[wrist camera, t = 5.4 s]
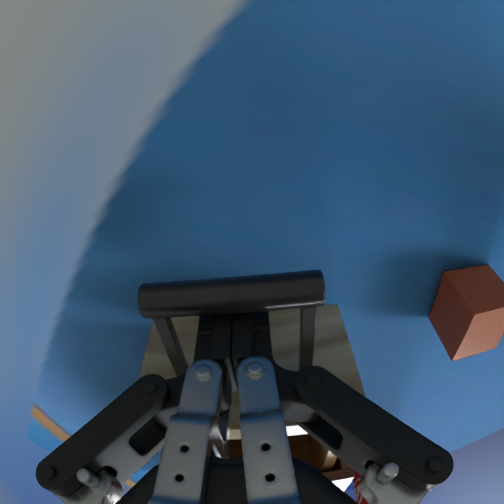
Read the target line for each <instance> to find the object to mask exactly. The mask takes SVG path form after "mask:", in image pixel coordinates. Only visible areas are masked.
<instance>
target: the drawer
mask: <svg viewBox="0 0 504 504" xmlns="http://www.w3.org/2000/svg"><path fill="white" fill-rule="evenodd" d="M324 302H325V284H324V278H323V274H322V272H321V270H309V271H298V272H287V273H275V274H263V275H252V276H239V277H227V278H214V279H201V280H187V281H173V282H158V283H143V284H141V286H140V288H139V292H138V305H139V310H140V313H141V315H142V316H143V317H144V318H153V325H152V328H151V332H150V336H149V339H148V343H147V347H146V351H145V355H144V359H143V363H142V367H141V371H140V375H139V379H140V378H141V377H143V376H145V375H148V374H157V375H160V376H162V377H163V378H164V379H165V380H167V379H171V378H174V377H178V376H180V375H182V374H184V373H185V372H186V371H187V369H188V367H189V366H190V365H191V364H192V363H193V361H194V353H195V346H196V338H197V330H198V323H199V316H208V315H224V314H238V313H252V312H264V311H268V312H269V323H270V334H271V345H272V355H273V359H274V361H275V362H276V364H277V365H279V366H280V367H282V368H284V369H287V370H291V371H297V372H299V371H300V370H301V369H302V368H305V367H307V366H320V367H323V368H325V369H326V370H328V371H329V372H330V373H332V374H333V375H335V376H336V377H337V378H339V379H340V380H342V381H343V382H345V383H346V384H347V385H349V386H350V387H352V388H353V389H354V390H356V391H357V392H359V393H360V394H362V395H363V396H365V393H364V390H363V386H362V383H361V379H360V376H359V372H358V369H357V366H356V362H355V359H354V356H353V352H352V349H351V346H350V342H349V339H348V336H347V333H346V330H345V326H344V323H343V320H342V317H341V314H340V311H339V308H338V305H337V304H331V305H324ZM139 379H138V380H139ZM231 404H232V412H231V422H230V432H229V441H228V450H229V459H232V458H236V457H240V456H243V452H242V442H241V431H240V406H239V395H238V391H232V402H231ZM284 420H285V425H286V431H287V436H288V441H289V447H290V452H291V457H295V458H299V459H301V460H304V461H306V462H308V463H310V464H311V465H313V466H314V467H316V468H317V469H318V470H319V471H320V472H321V473H322V472H329V471H331V470H332V468H333V466H334V463H335V461H336V459H337V456H335V455H334V454H333V453H331V452H330V451H329V450H328V449H326V448H325V447H324V446H323V445H321V444H320V443H319V442H318V441H316V440H315V439H314V438H313V437H312V436H310V435H309V434H308V433H307V432H306V431H304V430H303V429H302V428H301V427H300V426H298V425H297V424H296V422H295V421H292V420H287V419H284ZM162 449H163V448H162Z"/></svg>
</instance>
